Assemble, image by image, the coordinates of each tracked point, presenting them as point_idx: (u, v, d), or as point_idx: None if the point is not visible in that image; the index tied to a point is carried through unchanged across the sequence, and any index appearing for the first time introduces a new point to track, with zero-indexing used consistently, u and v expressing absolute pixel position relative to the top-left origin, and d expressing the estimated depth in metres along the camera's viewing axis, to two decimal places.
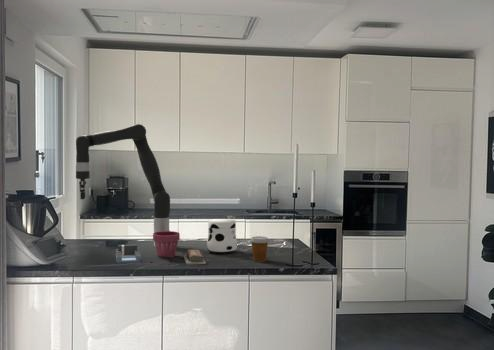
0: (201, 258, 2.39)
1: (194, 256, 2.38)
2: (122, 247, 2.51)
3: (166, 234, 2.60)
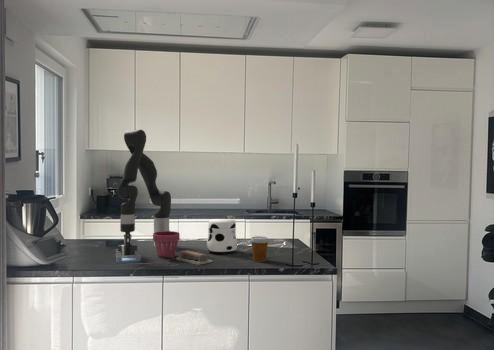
0: (207, 257, 2.42)
1: (202, 256, 2.39)
2: (122, 247, 2.51)
3: (166, 234, 2.60)
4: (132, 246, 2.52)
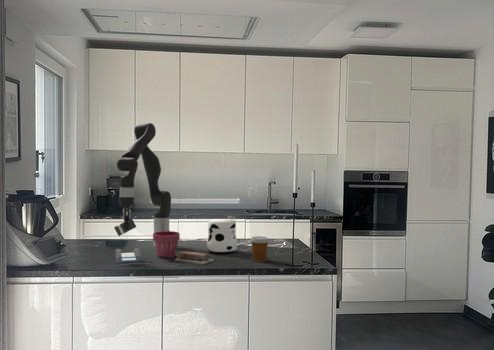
0: (208, 256, 2.44)
1: (205, 255, 2.41)
2: (118, 227, 2.44)
3: (166, 234, 2.60)
4: None
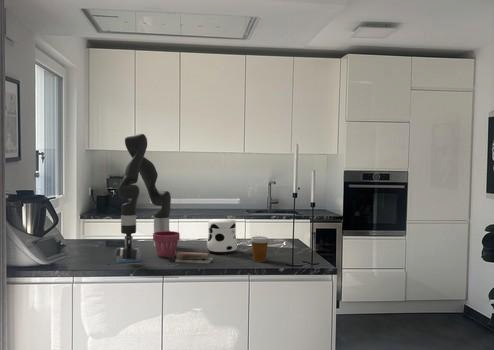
0: (208, 255, 2.47)
1: (208, 254, 2.43)
2: (121, 250, 2.39)
3: (166, 234, 2.60)
4: (131, 250, 2.41)
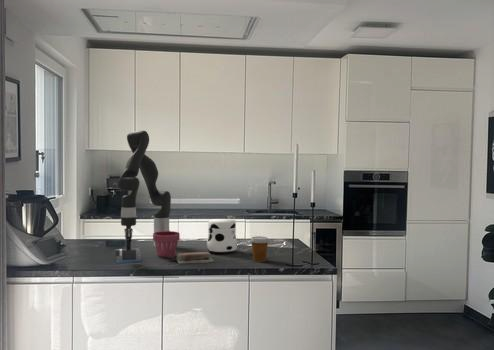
0: None
1: None
2: (120, 252, 2.39)
3: (166, 234, 2.60)
4: (130, 251, 2.40)
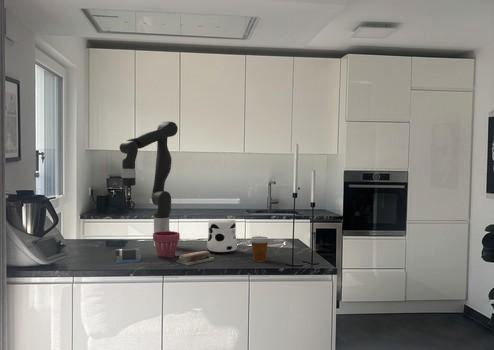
0: None
1: None
2: (120, 251, 2.39)
3: (166, 234, 2.60)
4: (130, 251, 2.40)
